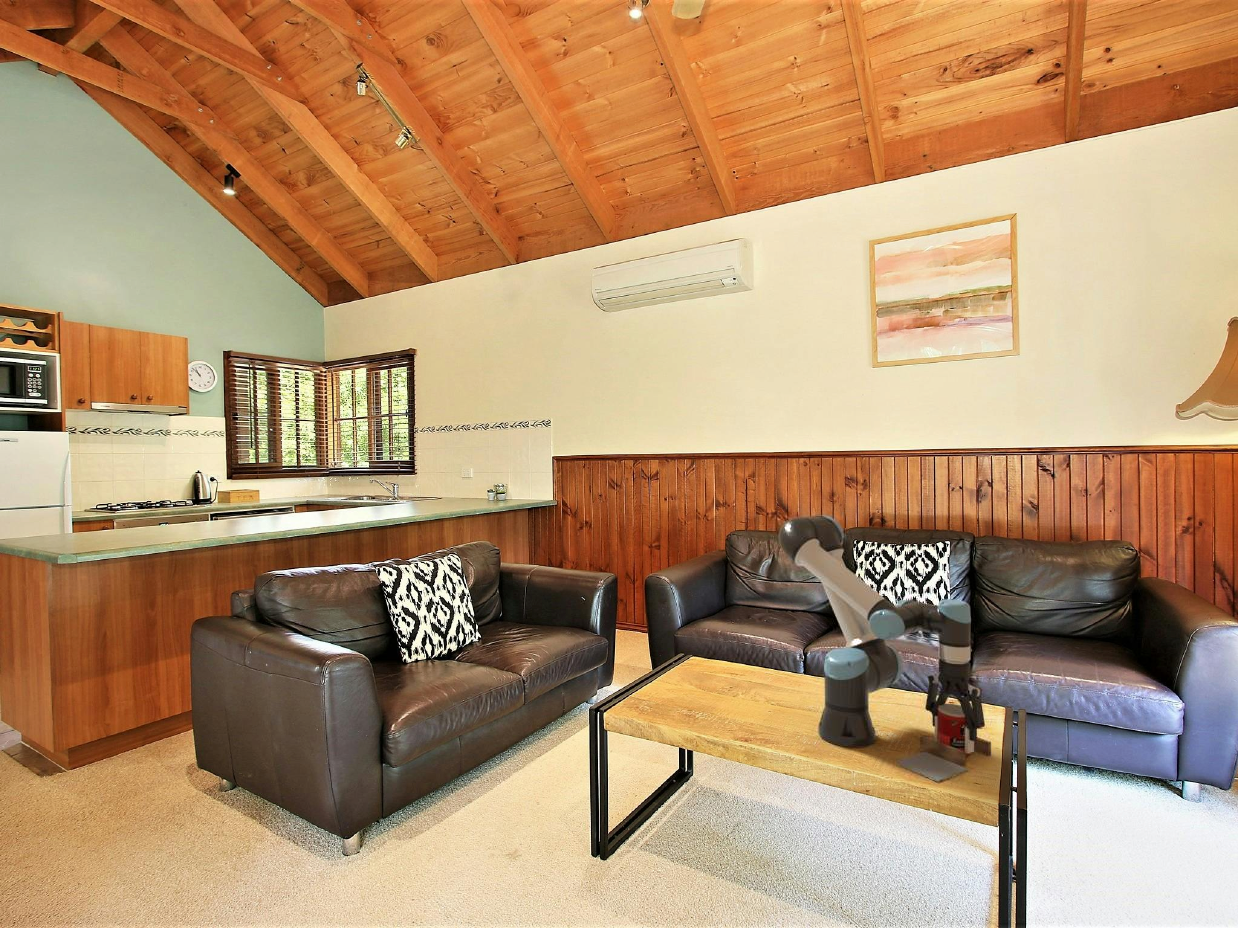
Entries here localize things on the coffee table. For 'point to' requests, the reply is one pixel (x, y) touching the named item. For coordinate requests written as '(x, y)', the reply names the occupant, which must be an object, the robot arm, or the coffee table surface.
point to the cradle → (953, 749)
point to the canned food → (952, 726)
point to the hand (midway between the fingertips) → (954, 745)
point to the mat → (931, 766)
